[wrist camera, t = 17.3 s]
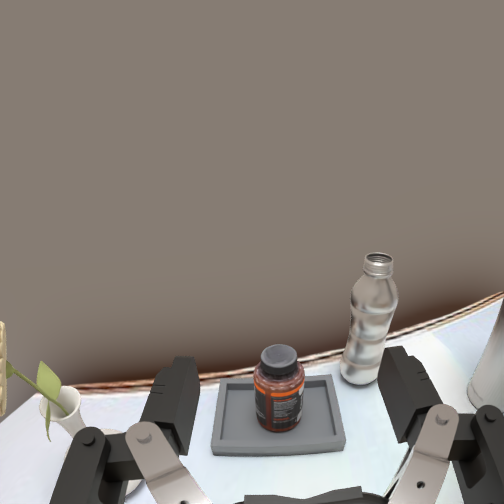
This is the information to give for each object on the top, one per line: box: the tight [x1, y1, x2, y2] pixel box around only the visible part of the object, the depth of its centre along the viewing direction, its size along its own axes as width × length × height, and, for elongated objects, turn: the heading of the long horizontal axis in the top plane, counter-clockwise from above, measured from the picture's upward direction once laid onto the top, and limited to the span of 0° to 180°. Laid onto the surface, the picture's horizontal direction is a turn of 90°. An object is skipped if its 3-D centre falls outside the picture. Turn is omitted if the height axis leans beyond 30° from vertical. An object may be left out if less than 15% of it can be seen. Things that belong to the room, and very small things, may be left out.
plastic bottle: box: [340, 253, 399, 385], centre depth 40 cm, size 6×7×20 cm
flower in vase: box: [0, 321, 142, 496], centre depth 23 cm, size 13×11×25 cm
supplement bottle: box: [254, 344, 305, 432], centre depth 35 cm, size 6×6×11 cm
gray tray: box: [211, 374, 346, 456], centre depth 37 cm, size 16×12×2 cm
